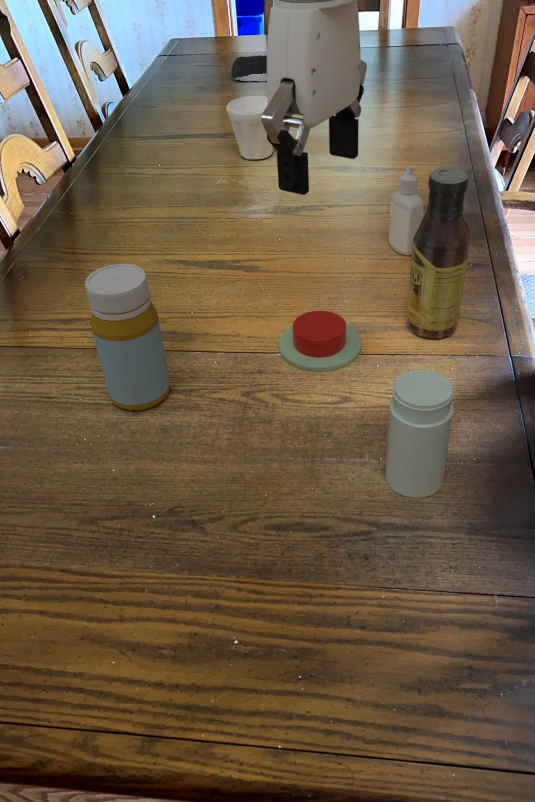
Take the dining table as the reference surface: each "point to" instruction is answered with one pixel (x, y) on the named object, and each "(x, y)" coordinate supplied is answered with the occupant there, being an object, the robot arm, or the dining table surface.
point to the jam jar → (418, 433)
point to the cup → (249, 125)
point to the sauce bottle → (439, 257)
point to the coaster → (324, 363)
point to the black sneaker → (249, 66)
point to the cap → (319, 334)
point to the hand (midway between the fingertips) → (319, 173)
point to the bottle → (127, 337)
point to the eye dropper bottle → (405, 214)
